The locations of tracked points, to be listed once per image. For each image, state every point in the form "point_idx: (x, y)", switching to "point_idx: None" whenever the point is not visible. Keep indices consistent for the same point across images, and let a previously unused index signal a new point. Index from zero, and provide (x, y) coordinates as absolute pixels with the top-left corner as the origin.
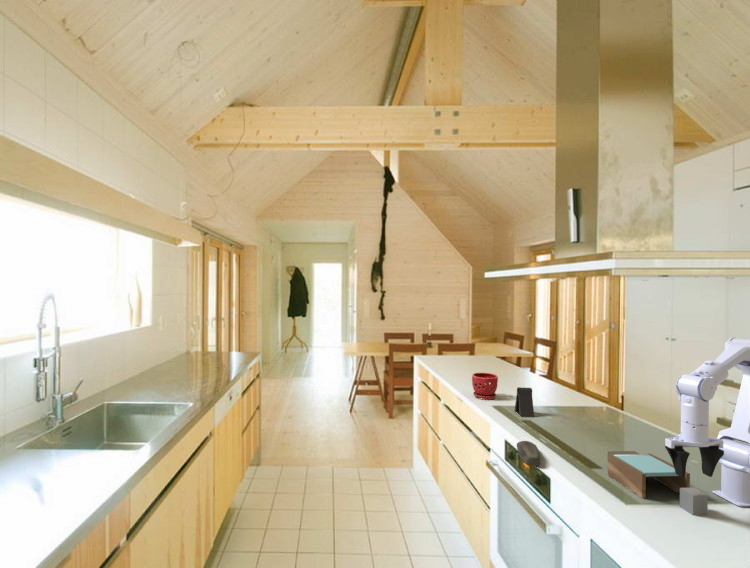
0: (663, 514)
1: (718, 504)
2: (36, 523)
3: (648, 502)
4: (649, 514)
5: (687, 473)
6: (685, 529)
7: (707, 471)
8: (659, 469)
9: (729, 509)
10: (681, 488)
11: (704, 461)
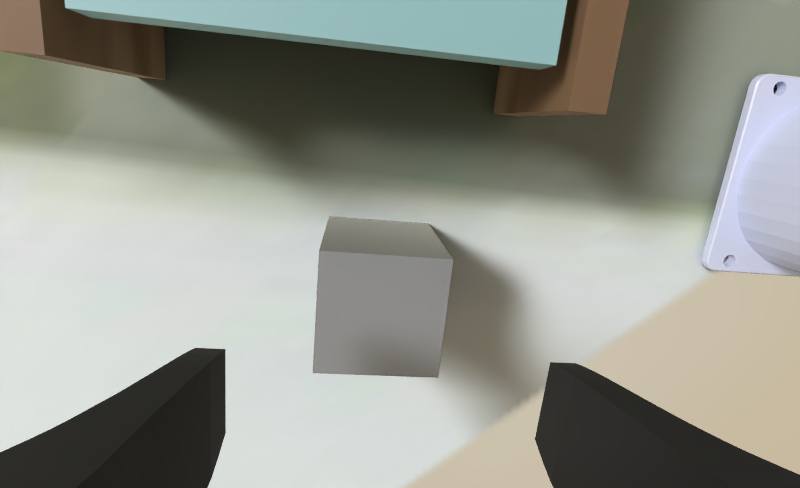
0: (136, 284)
1: (614, 219)
2: None
3: (148, 134)
4: (36, 274)
5: (585, 106)
6: None
7: (558, 447)
8: None
9: (614, 276)
10: (322, 263)
11: (642, 477)
